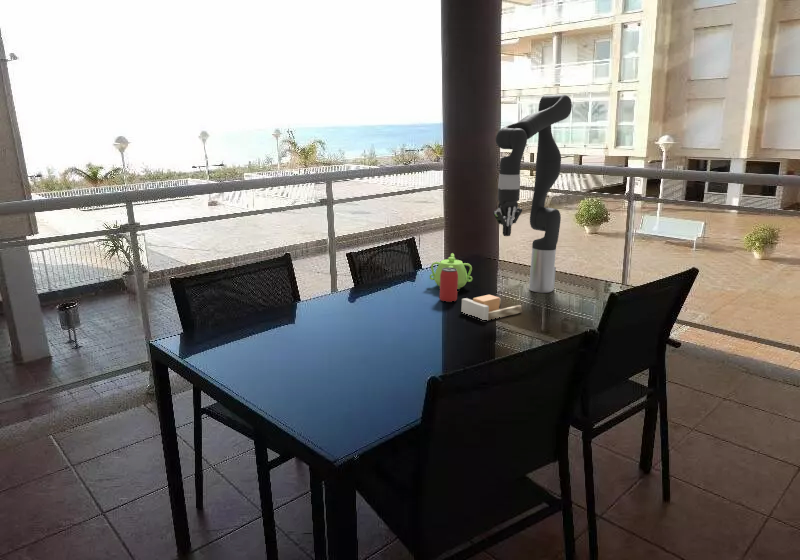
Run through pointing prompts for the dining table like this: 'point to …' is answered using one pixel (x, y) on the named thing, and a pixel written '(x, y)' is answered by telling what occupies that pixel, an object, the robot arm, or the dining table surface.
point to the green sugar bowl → (452, 264)
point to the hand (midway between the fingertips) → (506, 235)
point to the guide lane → (504, 312)
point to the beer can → (448, 284)
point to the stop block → (475, 309)
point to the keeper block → (489, 301)
